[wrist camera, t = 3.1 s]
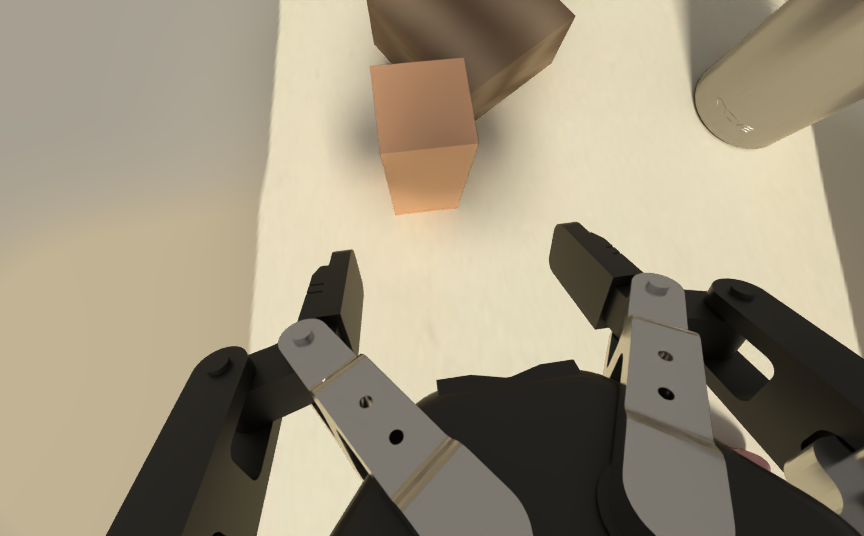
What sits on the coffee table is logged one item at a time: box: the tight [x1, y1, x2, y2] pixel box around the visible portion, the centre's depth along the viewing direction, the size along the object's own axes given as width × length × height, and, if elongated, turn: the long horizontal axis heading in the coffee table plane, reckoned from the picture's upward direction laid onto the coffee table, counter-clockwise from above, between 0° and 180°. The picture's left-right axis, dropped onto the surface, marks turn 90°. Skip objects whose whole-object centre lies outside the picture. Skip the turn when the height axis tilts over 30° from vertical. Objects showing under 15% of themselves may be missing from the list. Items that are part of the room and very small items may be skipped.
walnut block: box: [367, 0, 575, 120], centre depth 27 cm, size 12×12×5 cm
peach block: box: [370, 58, 479, 215], centre depth 22 cm, size 5×5×10 cm
